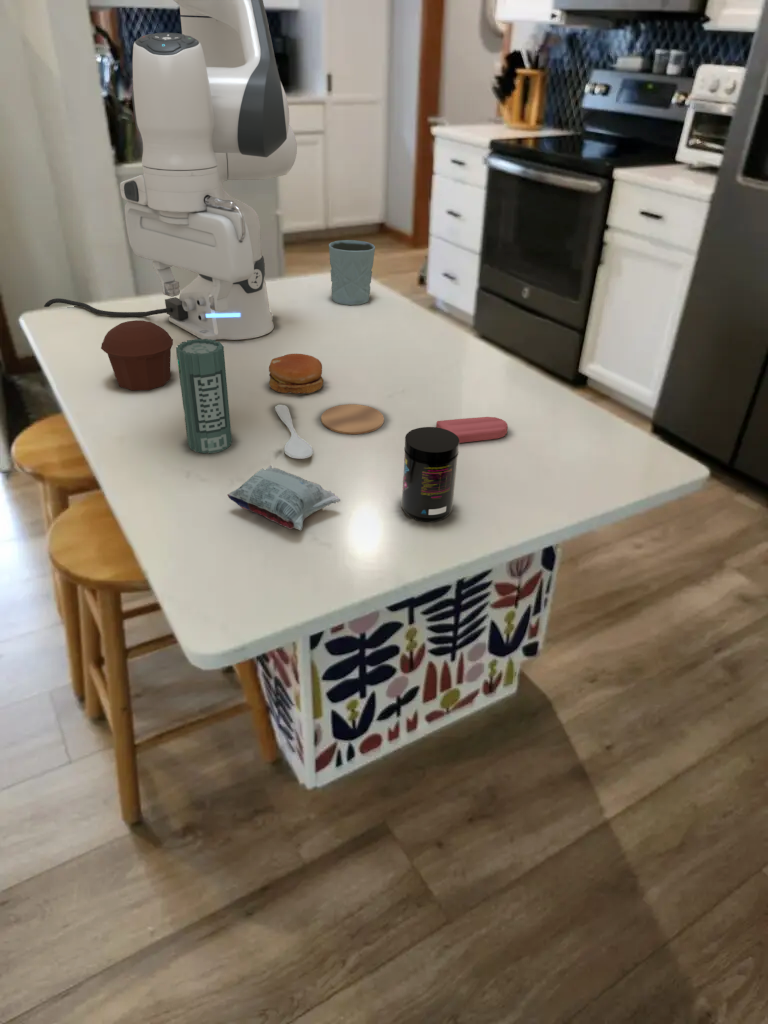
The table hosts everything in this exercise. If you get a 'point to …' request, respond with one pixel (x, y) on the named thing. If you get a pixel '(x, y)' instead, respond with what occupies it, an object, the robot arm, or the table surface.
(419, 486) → the supplement container
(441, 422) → the popsicle
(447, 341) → the table surface
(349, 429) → the cork coaster
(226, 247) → the robot arm
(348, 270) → the drinking glass
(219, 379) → the can
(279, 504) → the packaged food
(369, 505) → the table surface
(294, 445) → the spoon
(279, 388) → the burger
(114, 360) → the muffin
